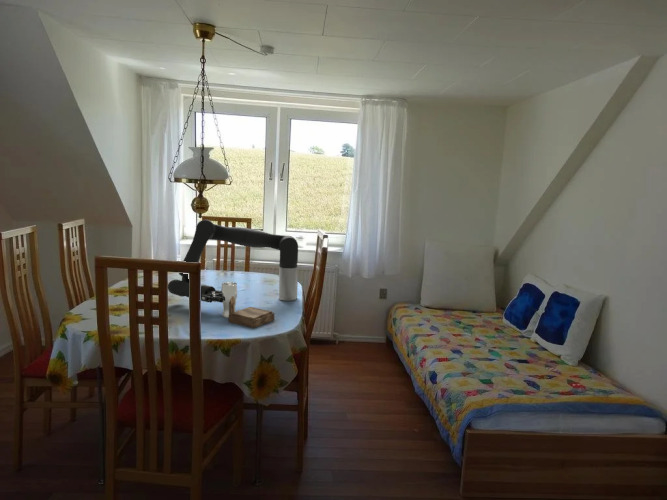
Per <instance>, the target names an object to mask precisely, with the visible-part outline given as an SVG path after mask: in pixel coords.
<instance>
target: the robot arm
mask: <svg viewBox="0 0 667 500" xmlns="http://www.w3.org/2000/svg"><path fill="white" fill-rule="evenodd" d="M209 240H212V241H223V242H227V243H229V244H230V243H231V244H234V245H238V246H242V247H243V246H244V247H248V248H257V249H258V248H261V249H263V248H267V249H274V250H277V251H279V261H278V262H279V263H278V265H279V268H278V270H279V271H278V272H279V273H278V274H279V275H278V277H279V278H278V279H279V280H278V300H279V301H284V302H293V301H296V300H297V298H298V263H299V262H298V261H299V242H298V241H297V239H296V238H295V237H293V236H291V235H285V234H284V235H282V234H281V235H280V234H273V233H268V232H265V231H262V230H258V229H253V228H249V227H248V228H247V227H242V226H241V227H239V226H234V227H231V226H224V225H218V224H215V223H213V222H212V221H211V220H210V219H202V220H200V221H198V223H197V224H196V226H195V231H194V235H193V238H192V241H191V244H190V246H189V249H188V250H187V252H186V254H185V256H184V258H183V260H182V262H183V261H186V262H198V263H199V262H200V259H201V256H202V253H203V251H204V249H205V247H206V244H207V243H208V241H209ZM178 275H179V276H180V277H181V280H180V279H172V280H171V281H169V282H168V283H167V290H168V292H169V293H170V294H172V295H175V296H179V297H182V298H183V297H187V298H189V279H188V274H183V273H178ZM201 302H206V303H211V304H212V302H214V303H216V302H217V303H222V304H223V297H222V295H221V290H219V289H217V290H216V288H215V287H214V286H211V285H207V284H202V283H201Z"/></svg>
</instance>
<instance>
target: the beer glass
mask: <svg viewBox="0 0 667 500" xmlns="http://www.w3.org/2000/svg"><path fill="white" fill-rule="evenodd" d="M220 291H221V295H222V297H223V302H222V307H223V310H222V314H221V315H222V317H223V318H226V319H229V315H230V314H231V313H233V312H236V305H237V298H238V283H237V282H233V281H232V282H231V281H227V282H226V281H225V282H222V283H221V290H220Z"/></svg>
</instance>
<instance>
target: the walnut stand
mask: <svg viewBox="0 0 667 500" xmlns="http://www.w3.org/2000/svg"><path fill="white" fill-rule="evenodd" d="M235 311H236V310H235ZM273 321H275V312H272V310H268V309H263V308H259V307H253V306H248V307H245V308H243V309H239V310H237V311H236V312H233V313H231V314H230V315H229V318H228V323H231V324H235V325H240V326H243V327H246V328H247V327H248V328H252V329H255V328H258V327H261V326H262V325H266V324H268V323H270V322H273Z"/></svg>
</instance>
